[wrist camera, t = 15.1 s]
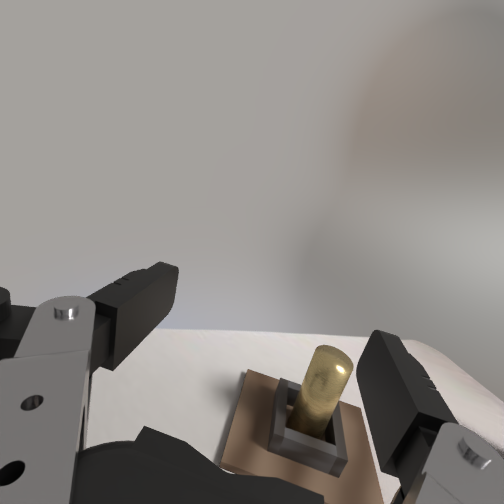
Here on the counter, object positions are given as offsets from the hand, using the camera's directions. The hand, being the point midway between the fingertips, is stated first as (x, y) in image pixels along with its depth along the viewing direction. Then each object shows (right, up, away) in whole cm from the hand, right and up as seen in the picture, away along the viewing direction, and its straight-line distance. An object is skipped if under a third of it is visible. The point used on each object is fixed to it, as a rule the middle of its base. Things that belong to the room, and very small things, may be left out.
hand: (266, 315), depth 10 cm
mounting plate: (+6, -22, +23) cm, 32 cm away
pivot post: (+6, -21, +23) cm, 31 cm away
